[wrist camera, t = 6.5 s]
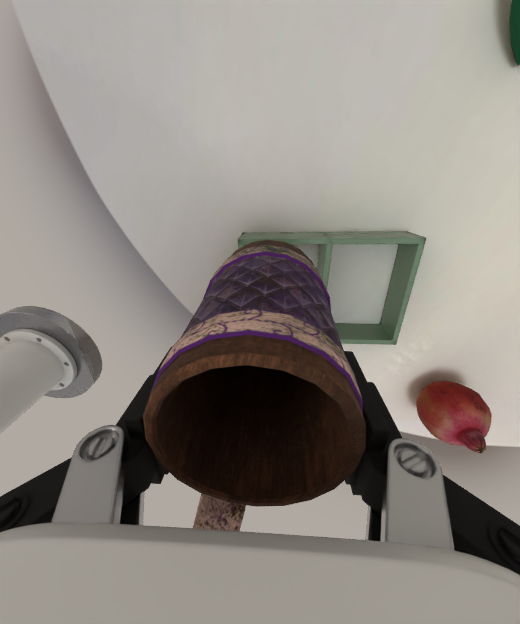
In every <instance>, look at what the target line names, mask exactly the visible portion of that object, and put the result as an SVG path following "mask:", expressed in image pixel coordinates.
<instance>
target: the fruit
mask: <svg viewBox="0 0 520 624" xmlns="http://www.w3.org/2000/svg"><path fill="white" fill-rule="evenodd" d="M417 412H418V415H419V418H420V420H421V421H422V423H423V424H424V425H425V427H426V428H427V429H428V430H429V432H430V433H431V434H432V435H434V436H435V437H436V438H438V439H440V440H442V441H444V442H447V443H449V444H451V445H461V446H462V445H463V446H466V447H467V448H469V449H471V450H472V451H475V452H478V453H482V452H483V451H484V450H486V442H485V439H484V437H485V436H486V435H487V433H488V431H489V429H490V425H491V412H490V409H489V407H488V406H487V404H486V403H485V402H484V400H483V399H482V398H481V396H480V395H479V394H478V393H477V392H475V391H474V390H472V389H470V388H468V387H465V386H463V385H461V384H458V383H455V382H449V381H438V382H432V383H430V384H429V385H427V386H426V387H425V388H424V389H423V390H422V392H421V393H420V394H419V396H418V398H417Z"/></svg>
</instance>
